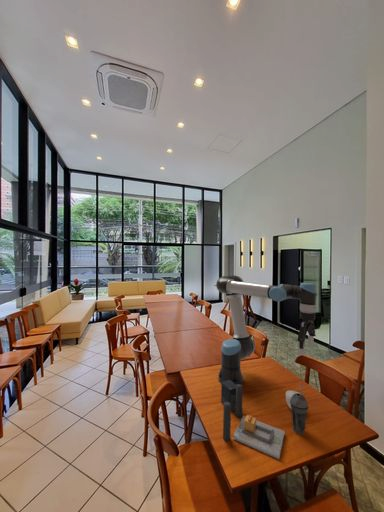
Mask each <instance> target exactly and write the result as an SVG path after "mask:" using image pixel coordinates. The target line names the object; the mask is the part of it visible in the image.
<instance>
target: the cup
mask: <svg viewBox="0 0 384 512" xmlns="http://www.w3.org/2000/svg"><path fill="white" fill-rule="evenodd" d="M295 393H299V394H300V392H298V391H296V390H287V391H286V392H285V401H286V404H287V406H288V407H289V409H290V410H291V404H290V399H291V397H292V395H293V394H295Z"/></svg>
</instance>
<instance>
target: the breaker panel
mask: <svg viewBox="0 0 384 512" xmlns="http://www.w3.org/2000/svg"><path fill="white" fill-rule="evenodd" d="M246 416H247V415H242V417H241V419H240V422H239V424H238V425H237V427H236V429H235V431H234V433H233V435H232V438H233V440H234V441H236V442H239V443H242V444H244V445H246V446H248V447H250V448H253V449H254V450H257V451H259V452H261V453H264V454H266V455H268V456H271V457H273V458H274V459H276V460H280V458H281V453H282V448H283V444H284V438H285V430H283V429H280V428H278V427H275V426H272V425H269V424H267V423H264V422H262V421H259V420H257V419H256V428H255V431H254V433H252V432H249V431H247V430H244V420H245V418H246Z"/></svg>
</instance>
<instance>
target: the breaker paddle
mask: <svg viewBox="0 0 384 512" xmlns="http://www.w3.org/2000/svg"><path fill="white" fill-rule="evenodd" d="M245 416H246V418H245V420H244V430H247V431H249V432H252V433H254V431H255V428H256V420H257V419H256V417H254V416H253V415H251V414H246V415H245Z"/></svg>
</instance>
